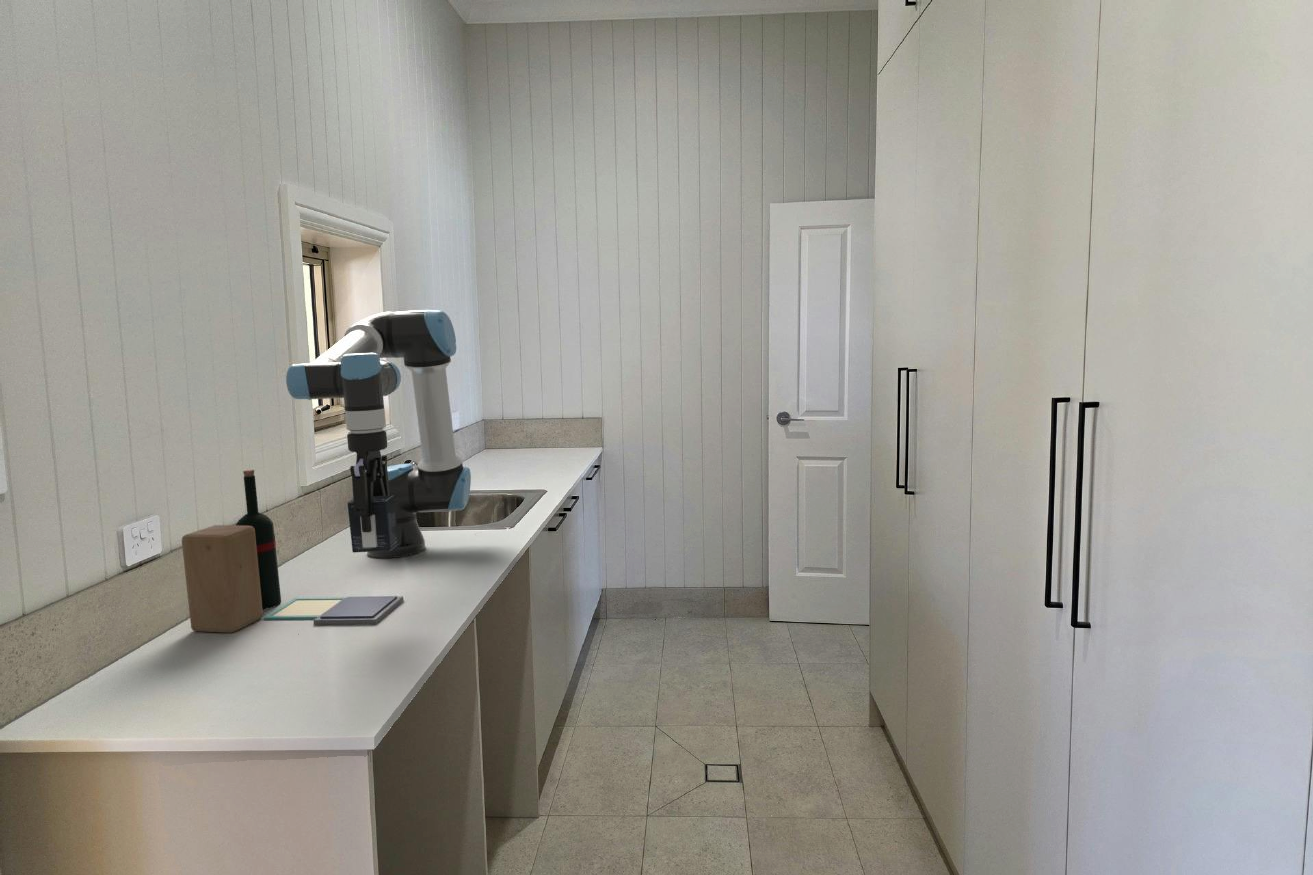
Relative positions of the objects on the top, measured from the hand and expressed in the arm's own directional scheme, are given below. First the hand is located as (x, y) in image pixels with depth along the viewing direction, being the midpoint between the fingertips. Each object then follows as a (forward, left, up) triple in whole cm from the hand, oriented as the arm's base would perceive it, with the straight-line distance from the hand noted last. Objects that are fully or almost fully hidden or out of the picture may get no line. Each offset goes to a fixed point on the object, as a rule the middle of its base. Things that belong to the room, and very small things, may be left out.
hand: (376, 542), depth 174 cm
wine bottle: (-10, -31, -16) cm, 36 cm away
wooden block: (+4, -31, -16) cm, 35 cm away
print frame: (-6, -18, -16) cm, 25 cm away
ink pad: (-3, -6, -16) cm, 17 cm away
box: (0, 0, -1) cm, 1 cm away
